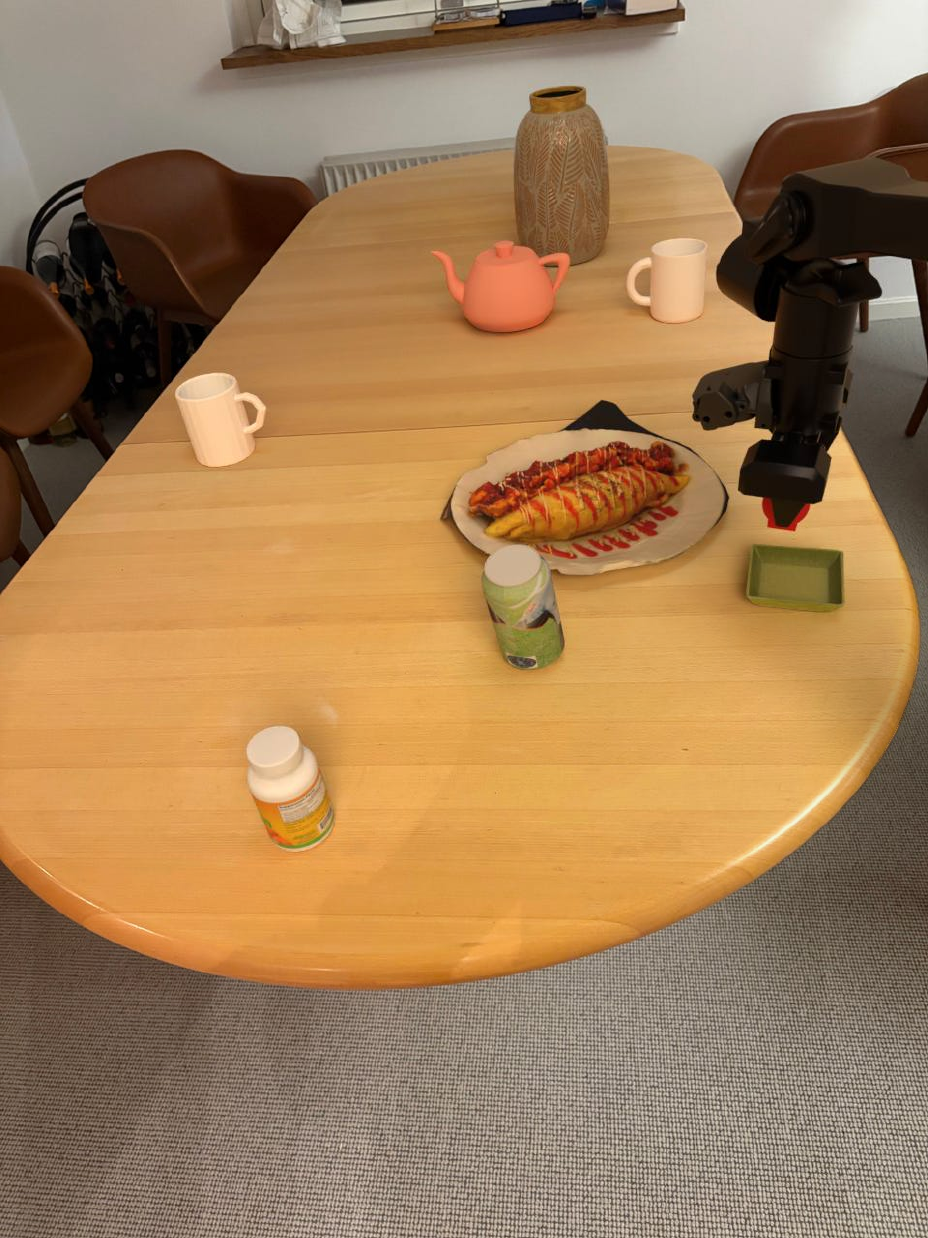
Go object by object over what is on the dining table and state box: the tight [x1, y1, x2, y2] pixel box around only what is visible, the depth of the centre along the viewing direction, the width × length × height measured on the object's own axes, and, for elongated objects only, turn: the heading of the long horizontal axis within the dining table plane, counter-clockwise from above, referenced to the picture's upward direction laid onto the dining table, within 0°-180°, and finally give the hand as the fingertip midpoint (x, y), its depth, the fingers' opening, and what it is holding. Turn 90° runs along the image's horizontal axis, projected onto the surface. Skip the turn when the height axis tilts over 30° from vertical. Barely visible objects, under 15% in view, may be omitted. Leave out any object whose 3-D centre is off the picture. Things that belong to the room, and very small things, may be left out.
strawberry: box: [761, 498, 811, 532], centre depth 77 cm, size 4×4×4 cm
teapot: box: [429, 240, 571, 333], centre depth 142 cm, size 22×15×12 cm
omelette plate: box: [439, 399, 730, 576], centre depth 101 cm, size 31×35×7 cm
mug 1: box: [174, 372, 267, 468], centre depth 117 cm, size 8×12×10 cm
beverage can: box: [480, 545, 566, 671], centre depth 79 cm, size 6×7×12 cm
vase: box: [513, 85, 611, 267], centre depth 158 cm, size 17×17×27 cm
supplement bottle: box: [245, 725, 336, 853], centre depth 68 cm, size 5×5×10 cm
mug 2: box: [625, 237, 708, 324], centre depth 137 cm, size 12×8×10 cm
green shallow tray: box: [745, 543, 846, 613], centre depth 85 cm, size 9×9×2 cm
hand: (785, 512), depth 77 cm, fingers closed on strawberry, 4 cm apart
